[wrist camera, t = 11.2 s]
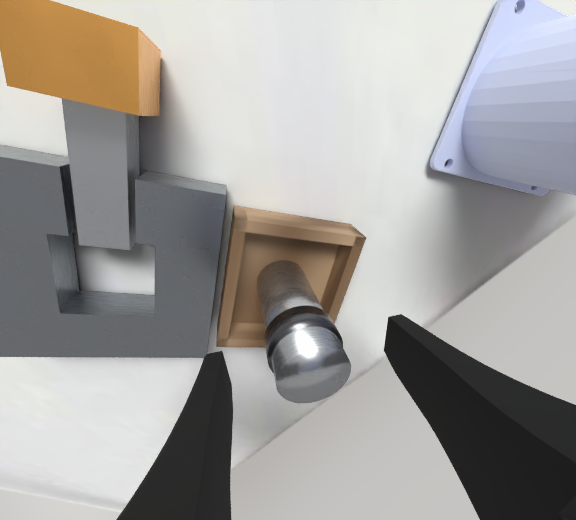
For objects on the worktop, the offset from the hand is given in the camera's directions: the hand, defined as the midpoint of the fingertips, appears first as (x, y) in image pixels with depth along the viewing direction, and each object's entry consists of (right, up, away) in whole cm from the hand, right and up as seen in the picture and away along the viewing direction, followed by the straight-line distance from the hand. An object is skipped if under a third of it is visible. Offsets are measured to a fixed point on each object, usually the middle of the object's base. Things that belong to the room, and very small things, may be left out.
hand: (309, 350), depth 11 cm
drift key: (-9, +9, +1) cm, 12 cm away
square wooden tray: (-1, +3, +6) cm, 6 cm away
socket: (-10, +4, +3) cm, 11 cm away
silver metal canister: (-1, +3, +5) cm, 6 cm away
